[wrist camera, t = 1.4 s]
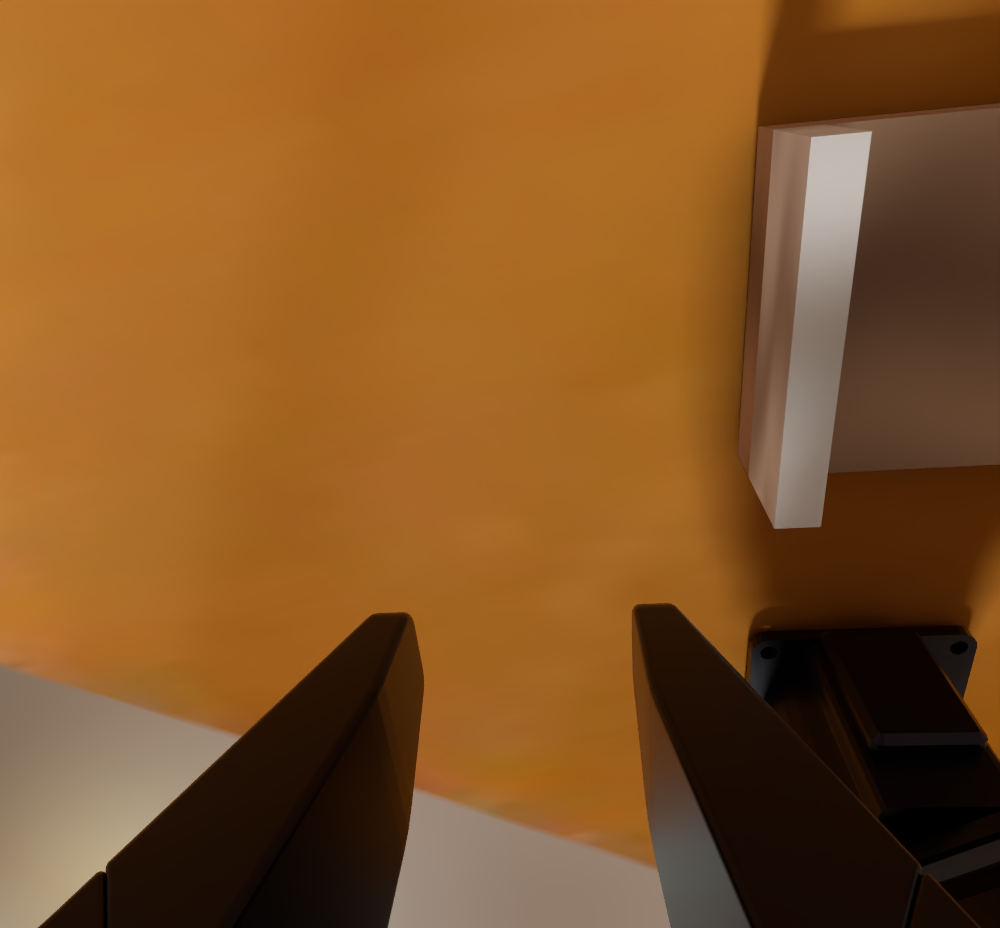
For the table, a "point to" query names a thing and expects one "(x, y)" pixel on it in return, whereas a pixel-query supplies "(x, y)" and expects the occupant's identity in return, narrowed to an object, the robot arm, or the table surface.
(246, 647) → the table surface
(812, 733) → the robot arm
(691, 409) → the table surface
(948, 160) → the l-shaped bracket
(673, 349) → the table surface
